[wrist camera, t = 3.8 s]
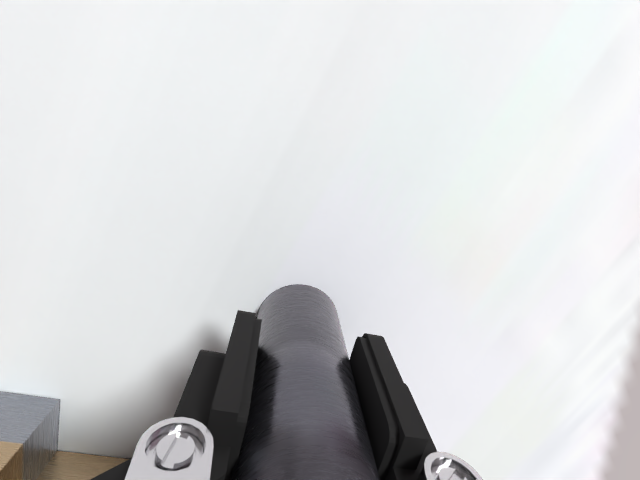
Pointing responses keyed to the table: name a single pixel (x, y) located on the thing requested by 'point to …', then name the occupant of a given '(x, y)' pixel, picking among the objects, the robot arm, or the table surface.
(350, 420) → the hinge pin
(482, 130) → the table surface
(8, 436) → the hinge
